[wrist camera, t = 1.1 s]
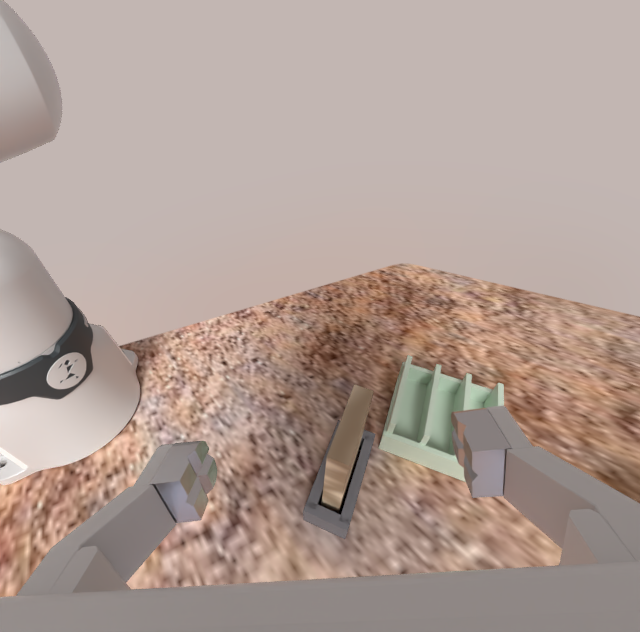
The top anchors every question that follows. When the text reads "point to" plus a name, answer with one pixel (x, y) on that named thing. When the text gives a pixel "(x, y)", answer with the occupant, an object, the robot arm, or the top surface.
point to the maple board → (345, 448)
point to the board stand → (341, 522)
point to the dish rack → (431, 415)
